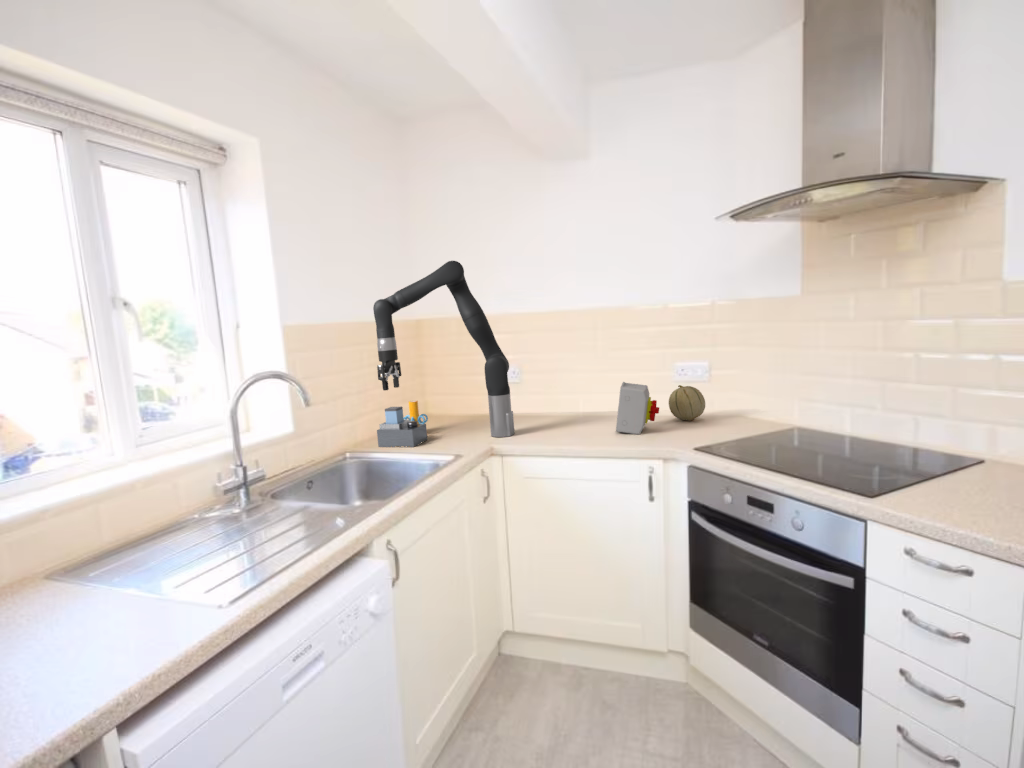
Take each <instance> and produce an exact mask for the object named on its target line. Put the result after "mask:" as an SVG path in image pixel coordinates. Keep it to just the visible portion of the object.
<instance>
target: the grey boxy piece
mask: <svg viewBox="0 0 1024 768" xmlns="http://www.w3.org/2000/svg"><path fill="white" fill-rule="evenodd" d="M376 436H377V444H378V448H396V447H395V446H400V447H399V448H402V447H401V446H404V447H403V448H415V447H416V445H417V446H419V445H421V444H422V443H421V442H423V441H425V440H427V441H428V431H427V423H425V424H417V421H410V420H409V419H407V420H405V419H404V422H401V423H399V424H386V421H385V422H383V423H380V424H379V428H378V429H376ZM425 442H426V441H425ZM420 443H421V444H420ZM423 443H424V442H423ZM418 444H419V445H418ZM391 446H392V447H391ZM405 446H407V447H405ZM408 446H410V447H408ZM414 446H415V447H414Z"/></svg>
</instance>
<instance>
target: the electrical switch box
mask: <svg viewBox="0 0 1024 768" xmlns="http://www.w3.org/2000/svg"><path fill="white" fill-rule="evenodd" d="M657 402H658V401H657V400H656V399H653V400H652V397H651V396H650V392H649V387H648V385H646V384H639V383H633V382H632V383H630V382H625V381H622V383H621V386H620V389H619V399H618V407H617V417H616V425H615V432H618V433H624V434H632V435H641V433H642V432H643V430H644V428H645V425H647V424H648V421H650V422H655V420H656V414H657V415H658V414H659V413H660V407H659V406H657Z"/></svg>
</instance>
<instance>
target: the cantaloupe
mask: <svg viewBox="0 0 1024 768" xmlns="http://www.w3.org/2000/svg"><path fill="white" fill-rule="evenodd" d="M668 407H669V410H670V412H671V414H672V415H673V417H675V418H677V419H678V420H681V421H688V422H690V421H693V420H695V419H697V418H699V417H700V416H701V415H702V414H703V413H704V412H705V409H706V399H705V397H704V395H703V393H702V392H701V391H700V390H699V389H698V388H696V387H694V386H690V385H687V386H684V385H678V388H676V389H674V390H673V391H672V392H671V394H670V395H669V398H668Z"/></svg>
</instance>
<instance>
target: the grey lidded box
mask: <svg viewBox="0 0 1024 768" xmlns="http://www.w3.org/2000/svg"><path fill="white" fill-rule="evenodd" d="M403 409H404V408H403V406H390V407H387V408H384V415H385V416H384V417H385V422H386V424H399V423H401V422H404V420H405V419H404V412H403V411H404V410H403Z"/></svg>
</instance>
